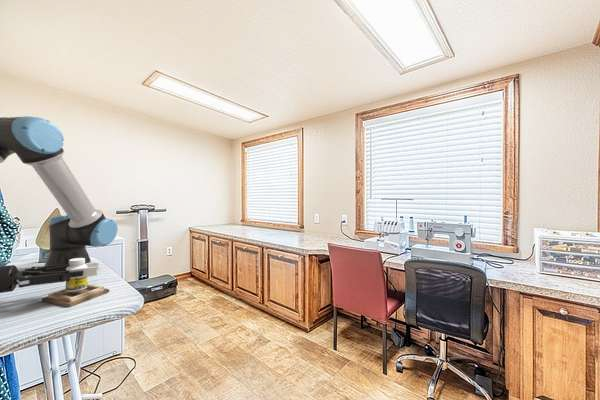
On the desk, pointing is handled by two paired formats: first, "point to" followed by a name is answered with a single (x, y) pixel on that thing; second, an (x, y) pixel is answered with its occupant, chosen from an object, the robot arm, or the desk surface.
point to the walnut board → (75, 296)
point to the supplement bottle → (76, 283)
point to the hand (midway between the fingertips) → (97, 268)
